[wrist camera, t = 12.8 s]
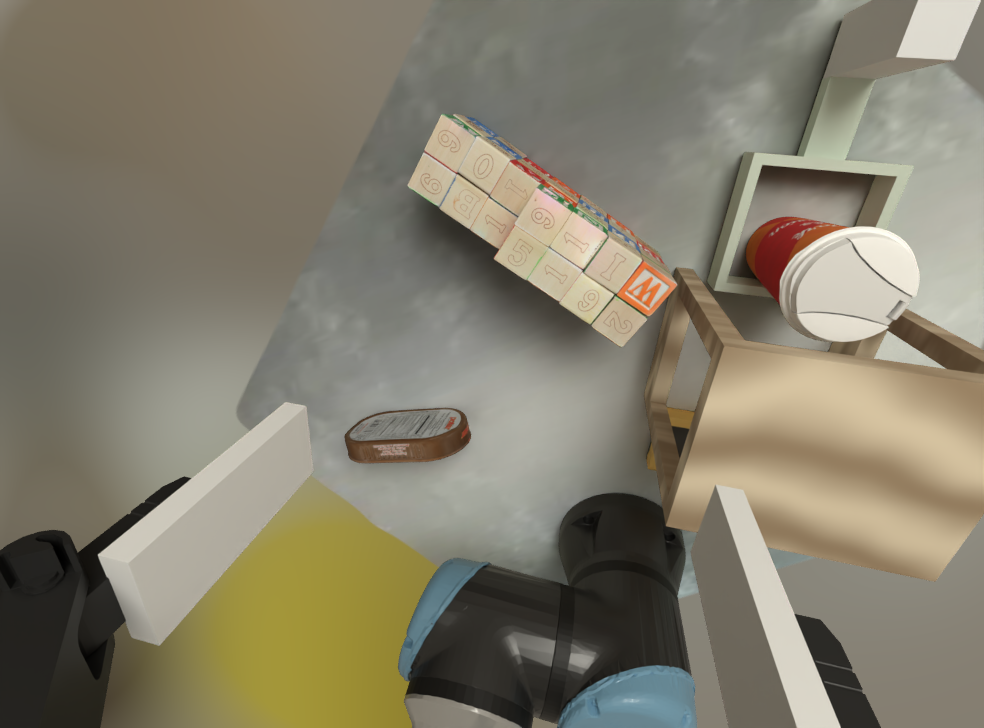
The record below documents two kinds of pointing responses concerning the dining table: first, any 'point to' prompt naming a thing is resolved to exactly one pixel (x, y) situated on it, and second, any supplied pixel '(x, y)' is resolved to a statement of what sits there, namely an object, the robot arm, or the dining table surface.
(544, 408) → the dining table surface
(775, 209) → the dining table surface
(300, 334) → the dining table surface
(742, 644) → the robot arm
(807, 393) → the oak tunnel
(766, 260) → the paper cup
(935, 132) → the dining table surface
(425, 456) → the tin
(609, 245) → the stack of blocks
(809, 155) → the collar
